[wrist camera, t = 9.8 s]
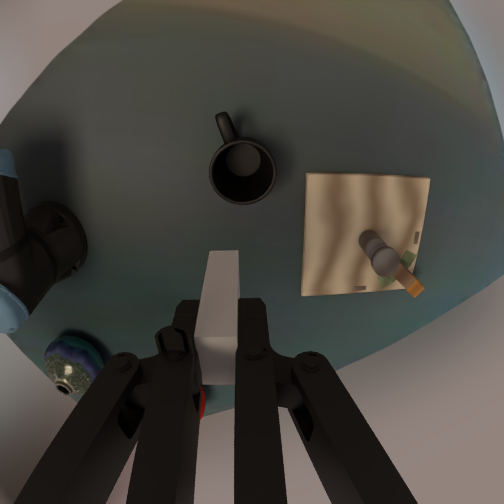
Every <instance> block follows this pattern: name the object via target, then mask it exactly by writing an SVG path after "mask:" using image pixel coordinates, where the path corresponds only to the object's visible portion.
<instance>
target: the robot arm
mask: <svg viewBox="0 0 504 504" xmlns="http://www.w3.org/2000/svg"><path fill="white" fill-rule="evenodd" d="M17 179H18V175H17V174H16V170H15V164H14V158H13V155H12V153H11V152H10V151H9V150H7V149H0V333H6V334H8V333H13V332H15V331H16V330H17V329H18V328H19V327H20V326H21V325H22V324H23V322H24V321H26V320H27V319H28V318H29V316H30V314H31V313H32V312H33V310H34V309H35V308H36V306H37V305H38V304H39V302H40V301H41V300H42V298H43V297H44V296H45V295H46V293H47V292H48V291H49V290H50V288H51V287H52V286H53V285H54V284H55V283H57V282H59V281H62V280H64V279H66V278H68V277H70V276H72V275H73V274H75V273H76V272H77V270H78V269H79V268H80V267H81V266H82V264H83V263H84V261H85V258H86V254H87V242H86V237H85V233H84V231H83V228H82V226H81V224H80V223H79V221H78V219H77V218H76V217H75V216H74V214H73V213H72V212H71V211H69V210H68V209H67V208H66V207H64V206H62V205H60V204H58V203H55V202H43V203H40V204H38V205H36V206H35V207H33V208H32V209H31V210H29V211H28V212H27V214H26V215H25V217H24V216H23V211H22V205H21V200H20V194H19V188H18V181H17ZM155 340H156V344H157V347H158V351H159V354H157V355H155V356H152V357H149V358H144V359H138V358H137V357H136V355H134V354H132V353H128V352H122V353H118V354H116V355H114V356H112V357H111V358H110V359H109V360H108V361H107V363H106V364H105V365H104V367H103V368H102V370H101V371H100V372H99V374H98V375H97V377H96V378H95V379H94V381H93V382H92V384H91V385H90V386H89V388H88V389H87V391H86V392H85V394H84V395H83V396H82V398H81V399H80V401H79V402H78V404H77V405H76V407H75V408H74V409H73V411H72V412H71V414H70V415H69V417H68V418H67V420H66V421H65V423H64V424H63V426H62V427H61V429H60V430H59V432H58V433H57V435H56V436H55V438H54V439H53V441H52V442H51V444H50V446H49V447H48V449H47V450H46V452H45V453H44V455H43V456H42V458H41V459H40V461H39V463H38V464H37V466H36V467H35V469H34V471H33V473H32V474H31V475H30V477H29V479H28V480H27V482H26V484H25V485H24V487H23V489H22V491H21V492H20V494H19V495H18V497H17V499H16V501H15V502H14V504H106V502H107V500H108V497H109V496H110V494H111V492H112V490H113V488H114V486H115V484H116V482H117V480H118V478H119V476H120V474H121V472H122V470H123V468H124V466H125V464H126V462H127V460H128V458H129V456H130V454H131V452H132V450H133V449H134V446H135V444H136V443H137V441H138V443H137V447H136V453H135V458H134V462H133V468H132V473H131V478H130V483H129V489H128V495H127V500H126V504H194V489H195V488H194V487H195V474H196V461H197V447H198V435H199V424H200V413H201V402H202V391H201V379H202V383H203V385H235V426H234V430H235V431H234V433H235V434H234V436H235V437H234V504H287V497H286V496H287V495H286V485H285V474H284V464H283V455H282V444H281V434H280V424H279V415H278V406H279V407H284V408H288V411H289V413H290V415H291V418H292V420H293V422H294V424H295V427H296V429H297V431H298V433H299V435H300V438H301V440H302V442H303V444H304V446H305V448H306V450H307V453H308V455H309V457H310V459H311V461H312V463H313V466H314V468H315V470H316V472H317V474H318V476H319V478H320V480H321V482H322V484H323V486H324V488H325V491H326V493H327V495H328V497H329V499H330V501H331V503H332V504H418V503H417V501H416V500H415V498H414V497H413V495H412V494H411V492H410V490H409V488H408V487H407V485H406V484H405V482H404V480H403V479H402V477H401V476H400V474H399V472H398V471H397V469H396V468H395V466H394V465H393V463H392V461H391V460H390V458H389V456H388V455H387V453H386V452H385V450H384V448H383V447H382V445H381V444H380V442H379V440H378V439H377V437H376V436H375V434H374V432H373V431H372V429H371V428H370V426H369V424H368V423H367V421H366V420H365V418H364V416H363V415H362V413H361V412H360V410H359V409H358V407H357V405H356V404H355V402H354V401H353V399H352V397H351V396H350V394H349V393H348V391H347V389H346V388H345V386H344V385H343V383H342V382H341V380H340V379H339V377H338V375H337V374H336V372H335V371H334V369H333V367H332V366H331V364H330V363H329V361H328V360H327V359H326V357H325V356H324V355H322V354H320V353H318V352H312V351H309V352H303V353H300V354H298V355H297V356H296V357H295V358H290V357H285V356H282V355H280V354H278V353H276V352H275V351H274V350H273V349H272V348H271V346H270V342H269V333H268V324H267V314H266V305H265V304H264V302H263V301H262V300H261V299H260V298H240V285H239V257H238V250H231V251H210V252H209V258H208V263H207V268H206V273H205V278H204V283H203V289H202V294H201V299H200V300H182V301H181V303H180V304H179V305H178V306H177V307H176V311H175V316H174V318H173V322H172V326H167V327H164V328H162V329H161V330H159V331H158V332H157V333H156V335H155Z"/></svg>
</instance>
